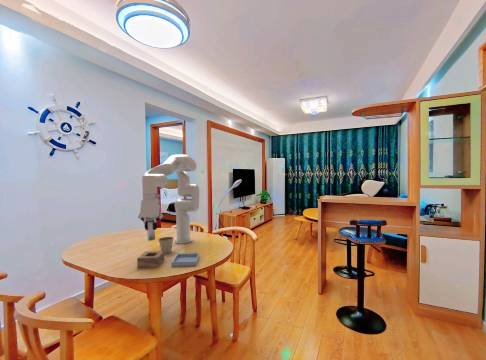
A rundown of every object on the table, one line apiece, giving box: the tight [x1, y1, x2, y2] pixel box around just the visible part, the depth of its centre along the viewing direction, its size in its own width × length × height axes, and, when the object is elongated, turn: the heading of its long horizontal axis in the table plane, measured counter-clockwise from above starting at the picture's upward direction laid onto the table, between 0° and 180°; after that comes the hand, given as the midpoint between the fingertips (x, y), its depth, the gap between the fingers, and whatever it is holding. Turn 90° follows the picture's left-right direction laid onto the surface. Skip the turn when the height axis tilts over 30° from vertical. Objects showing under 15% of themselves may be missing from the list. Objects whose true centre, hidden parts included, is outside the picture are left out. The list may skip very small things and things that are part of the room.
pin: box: [146, 217, 156, 241], centre depth 127 cm, size 5×5×12 cm
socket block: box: [136, 250, 165, 269], centre depth 127 cm, size 11×11×5 cm
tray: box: [171, 252, 200, 268], centre depth 129 cm, size 13×13×2 cm
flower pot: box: [157, 236, 175, 255], centre depth 145 cm, size 9×9×9 cm
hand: (151, 229), depth 127 cm, fingers closed on pin, 3 cm apart
